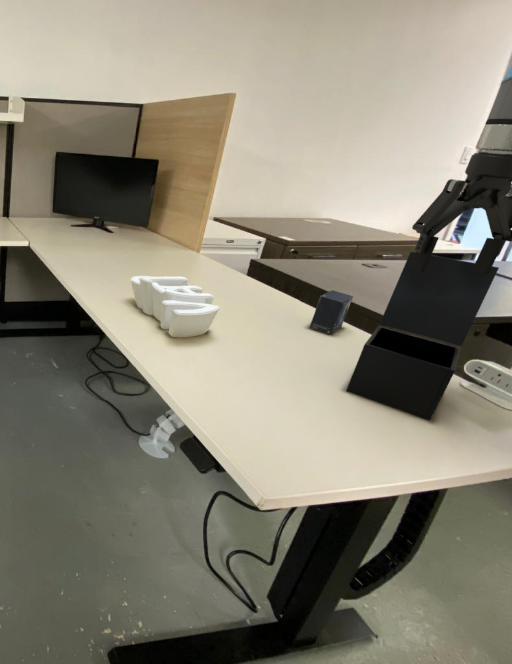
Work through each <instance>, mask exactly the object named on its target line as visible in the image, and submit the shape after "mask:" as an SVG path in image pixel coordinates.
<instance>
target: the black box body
mask: <svg viewBox="0 0 512 664" xmlns="http://www.w3.org/2000/svg"><path fill="white" fill-rule="evenodd" d="M361 349H362V350H361V352H360V354H359V358H358V360H357V362H356V364H355V367H354V370H353V372H352V375H351V377H350V380H349V382H348V385H347V387H346V390H345V391H346V392H347V393H350V394H352V395H355V396H358V397H362V398H365V399H367V400H370V401H372V402H376V403H378V404H381V405H384V406H387V407H390V408H393V409H395V410H398V411H401V412H404V413H406V414H409V415H412V416H414V417H417V418H419V419H424V420H426V421H429V422H431V420H432V418H433V416H434V415H435V412H436V410H437V408H438V406H439V404H440V402H441V401H442V398H443V396H444V394H445V392H446V390H447V388H448V386H449V384H450V382H451V380H452V378H453V376H454V374H455V372H456V368H457V365H458V364H457V363H458V360H459V357H460V352H461V347H460V346H455V345H453V344H452V345H451V344H448V343H444V342H442V341H436V340H433V339H430V338H427V337H423V336H420V335H419V336H418V335H414V334H411V333H408V332H403V331H400V330H398V329H394V328H393V329H392V328H389V327H386V326H383V325H382V326H381V325H378V326H377V328H376V329H375V330H374V332H373V333H372V334H371V335H370V337H369V338H368V339H367V340H366V341H365V343H364V345H363V347H362V348H361Z"/></svg>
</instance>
